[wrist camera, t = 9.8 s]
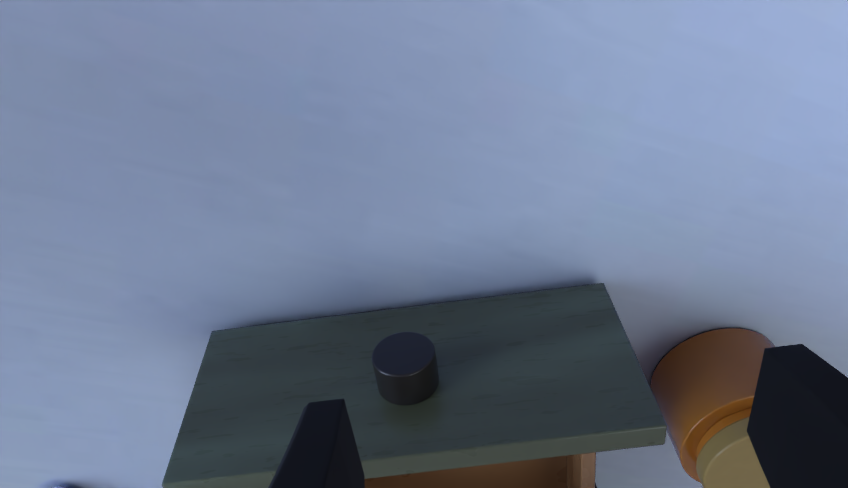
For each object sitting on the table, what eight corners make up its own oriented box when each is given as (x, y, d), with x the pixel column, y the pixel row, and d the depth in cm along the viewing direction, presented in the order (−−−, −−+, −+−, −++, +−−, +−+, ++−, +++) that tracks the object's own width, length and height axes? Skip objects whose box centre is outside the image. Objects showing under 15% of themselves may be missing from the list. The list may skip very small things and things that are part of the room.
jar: (703, 436, 27) (751, 532, 24) (623, 386, 25) (662, 483, 22) (804, 365, 25) (873, 459, 22) (725, 306, 23) (786, 398, 20)
